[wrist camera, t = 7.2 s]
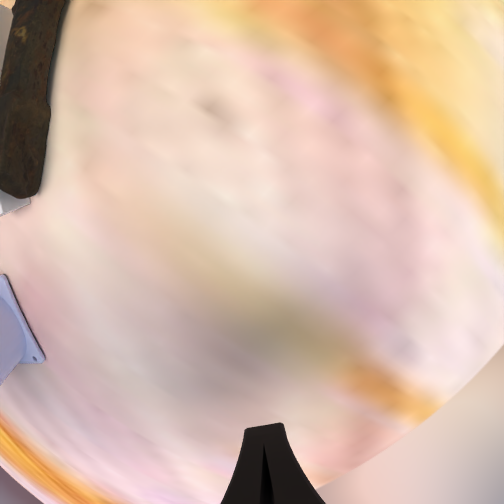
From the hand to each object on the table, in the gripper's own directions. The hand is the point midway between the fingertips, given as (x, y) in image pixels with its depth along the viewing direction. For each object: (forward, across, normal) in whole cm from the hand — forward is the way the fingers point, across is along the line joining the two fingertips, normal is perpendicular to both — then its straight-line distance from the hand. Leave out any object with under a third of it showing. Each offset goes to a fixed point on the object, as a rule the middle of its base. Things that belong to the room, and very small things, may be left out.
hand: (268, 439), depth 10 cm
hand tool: (+10, +9, -20) cm, 24 cm away
